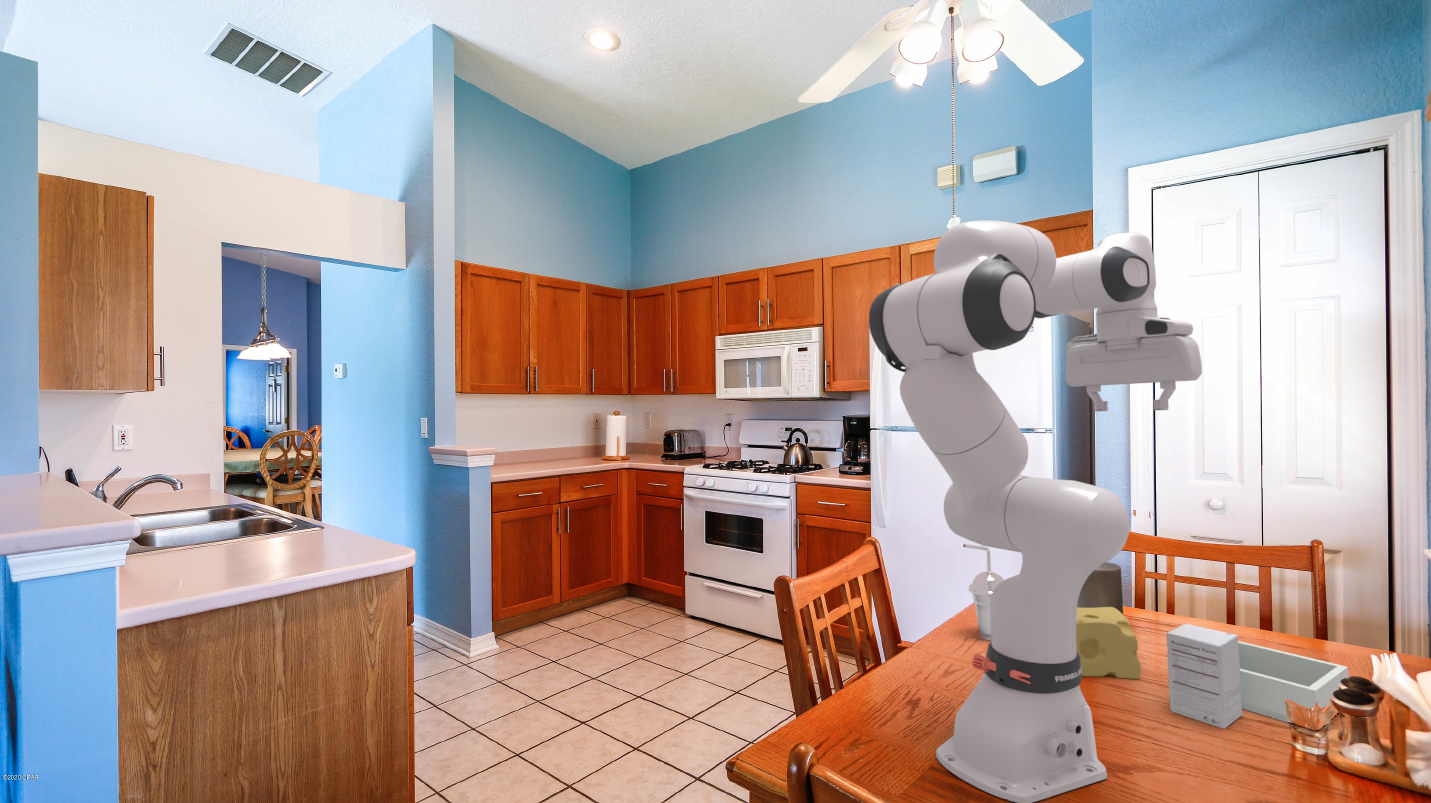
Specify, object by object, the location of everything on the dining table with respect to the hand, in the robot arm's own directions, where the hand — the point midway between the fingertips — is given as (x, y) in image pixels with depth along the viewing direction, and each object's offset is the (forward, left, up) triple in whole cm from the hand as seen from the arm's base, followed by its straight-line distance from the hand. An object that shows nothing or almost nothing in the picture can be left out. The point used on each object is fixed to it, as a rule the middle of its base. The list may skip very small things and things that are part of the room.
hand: (1130, 410), depth 108 cm
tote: (+14, -13, -48) cm, 52 cm away
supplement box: (0, -9, -48) cm, 49 cm away
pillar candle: (+27, +21, -48) cm, 59 cm away
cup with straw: (+3, +31, -48) cm, 57 cm away
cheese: (+5, +10, -48) cm, 50 cm away
